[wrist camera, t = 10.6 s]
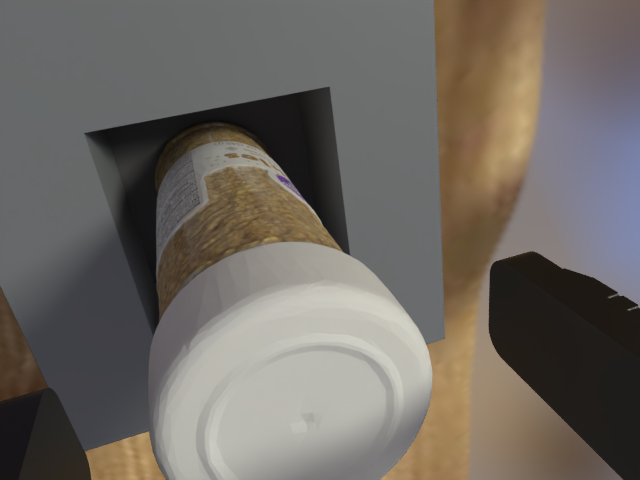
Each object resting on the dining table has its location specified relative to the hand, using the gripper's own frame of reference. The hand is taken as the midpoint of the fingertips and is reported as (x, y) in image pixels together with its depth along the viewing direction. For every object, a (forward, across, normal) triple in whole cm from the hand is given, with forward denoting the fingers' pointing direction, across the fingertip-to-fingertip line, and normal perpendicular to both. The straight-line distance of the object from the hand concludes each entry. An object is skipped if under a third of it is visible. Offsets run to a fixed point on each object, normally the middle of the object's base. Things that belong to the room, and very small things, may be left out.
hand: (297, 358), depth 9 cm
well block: (+12, 0, 0) cm, 13 cm away
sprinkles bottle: (+12, 0, 0) cm, 12 cm away
